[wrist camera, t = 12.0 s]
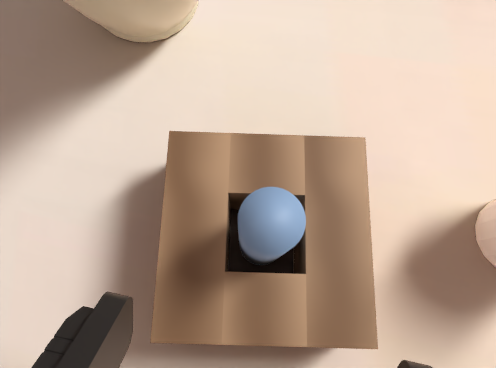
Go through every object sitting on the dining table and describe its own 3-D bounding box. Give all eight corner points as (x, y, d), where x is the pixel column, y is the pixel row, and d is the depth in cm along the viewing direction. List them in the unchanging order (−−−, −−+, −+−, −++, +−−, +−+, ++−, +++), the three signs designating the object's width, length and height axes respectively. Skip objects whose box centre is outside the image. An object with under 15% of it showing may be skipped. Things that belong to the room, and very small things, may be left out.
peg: (282, 222, 26) (305, 187, 17) (282, 265, 26) (306, 255, 16) (240, 221, 26) (238, 185, 17) (238, 264, 26) (236, 253, 16)
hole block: (343, 163, 28) (365, 137, 23) (350, 336, 24) (377, 349, 20) (181, 158, 28) (169, 131, 23) (168, 331, 24) (150, 342, 20)
